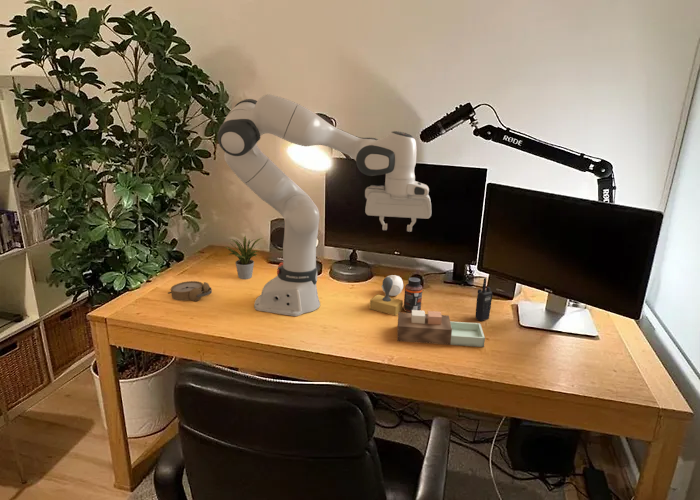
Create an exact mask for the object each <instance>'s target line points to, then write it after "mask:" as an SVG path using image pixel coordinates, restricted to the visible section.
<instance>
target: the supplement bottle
mask: <svg viewBox="0 0 700 500" xmlns="http://www.w3.org/2000/svg"><path fill="white" fill-rule="evenodd" d="M407 282H408V283H407V284H405V285H404V297H403V310H404V311H405V312H406V313H412V310H421V309H422V299H423V298H422V297H423V285H421V279H420V278H418V277H409V278H408V281H407ZM421 311H422V310H421Z"/></svg>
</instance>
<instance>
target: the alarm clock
mask: <svg viewBox="0 0 700 500" xmlns="http://www.w3.org/2000/svg"><path fill="white" fill-rule="evenodd" d="M212 293H213V289H212V287H211V286H210V284H209V283H208V282H201V281H198V280H197V281H196V280H191V281H182V282H179V283H176V284H174V285H172V286H171V287H170V291H168V292H167V294H170V295H171V298H172V300H175V301H192V302H198V301H200V300H201V299H202V298H203V297H207V296H209V295H210V294H212Z"/></svg>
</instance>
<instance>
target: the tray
mask: <svg viewBox="0 0 700 500" xmlns="http://www.w3.org/2000/svg"><path fill="white" fill-rule="evenodd" d="M450 323H451V328H452V334H451V344H450V346H460V347H461V346H462V347H463V346H465V347H476V348H479V347H480V348H484V347H485V340H486V337H485V334H484V331H483V327H482V324H481V323H479V322H464V321H462V322H461V321H451V320H450Z"/></svg>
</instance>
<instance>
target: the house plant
mask: <svg viewBox="0 0 700 500" xmlns="http://www.w3.org/2000/svg"><path fill="white" fill-rule="evenodd" d="M262 239H263V237H261V238H257V239H248V241H247V236H246V235H244V237H243V242H242V243H243V244H242V243H241V242H240V241H239V240H236V239H231V238H230V241H232V242H233V243H235V245H236V246H237V247H236V246H235V245H233V244H232V243H229V242H228V243H227V244H228V245H231V246H233V247H234V248H235V249H233V248H231V247H227V246H225V247H224V248H225V249H227V250H228V251H230V253H228V255H227V256H230V255H234V256H235V257H237V258H238V260H236V261H235V267H236V271H237V278H238V279H240V280H250V279H251V278H253V273H254V265H255V261H254V260H253V259H252V258H253V257H257V255H259V254H258V253H257V252H258V251H257V250H254V249H255V247H256V244H257V242H258V241H260V240H262ZM253 241H254V242H253ZM251 242H253V243H251ZM259 243H260V242H259ZM259 243H258V244H257V245H259ZM250 244H252V245H251V246H250Z"/></svg>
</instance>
